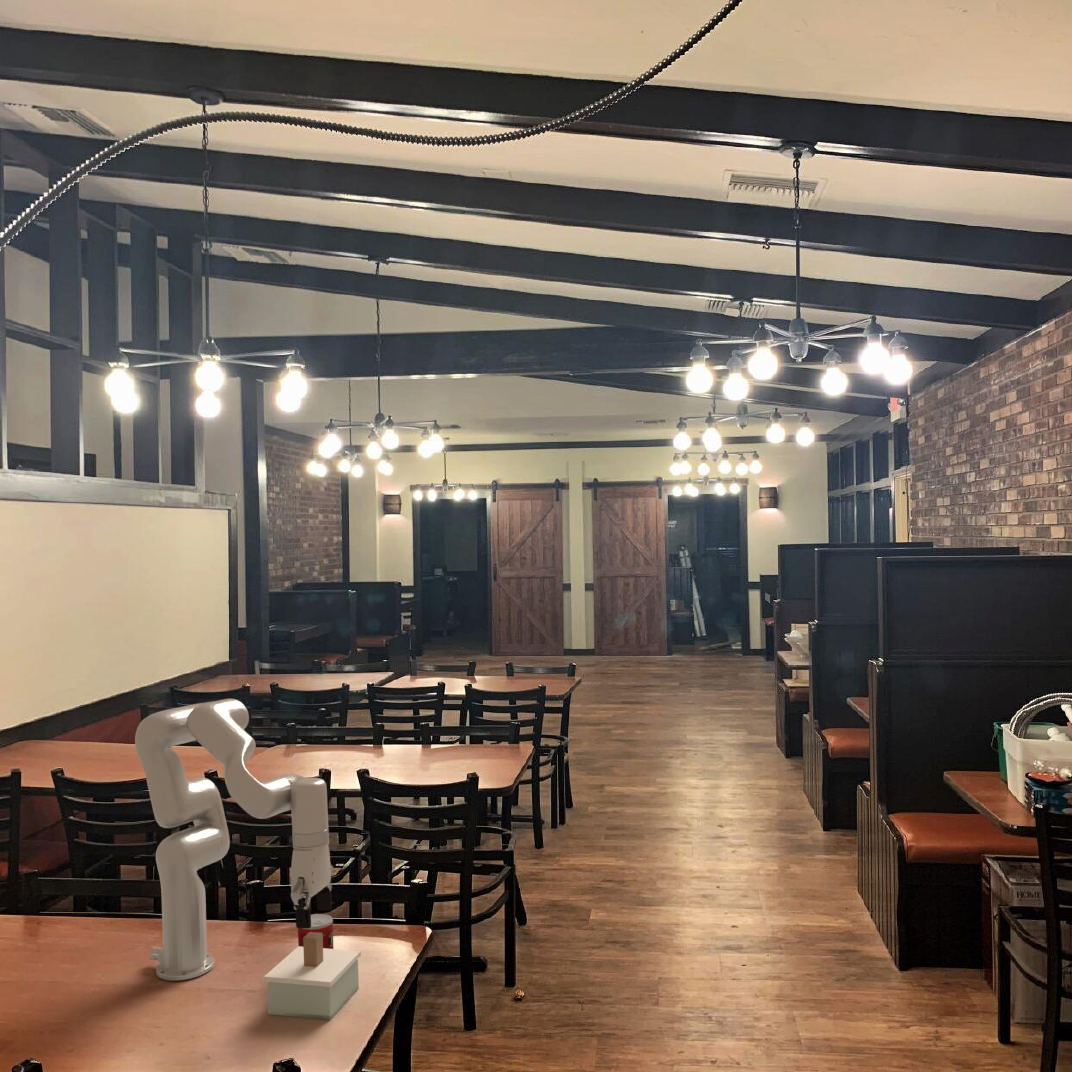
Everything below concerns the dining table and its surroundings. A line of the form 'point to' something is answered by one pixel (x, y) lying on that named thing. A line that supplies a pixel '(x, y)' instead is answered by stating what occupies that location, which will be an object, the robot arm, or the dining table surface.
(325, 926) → the canned food
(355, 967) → the box
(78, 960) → the dining table surface
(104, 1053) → the dining table surface
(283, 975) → the lid
